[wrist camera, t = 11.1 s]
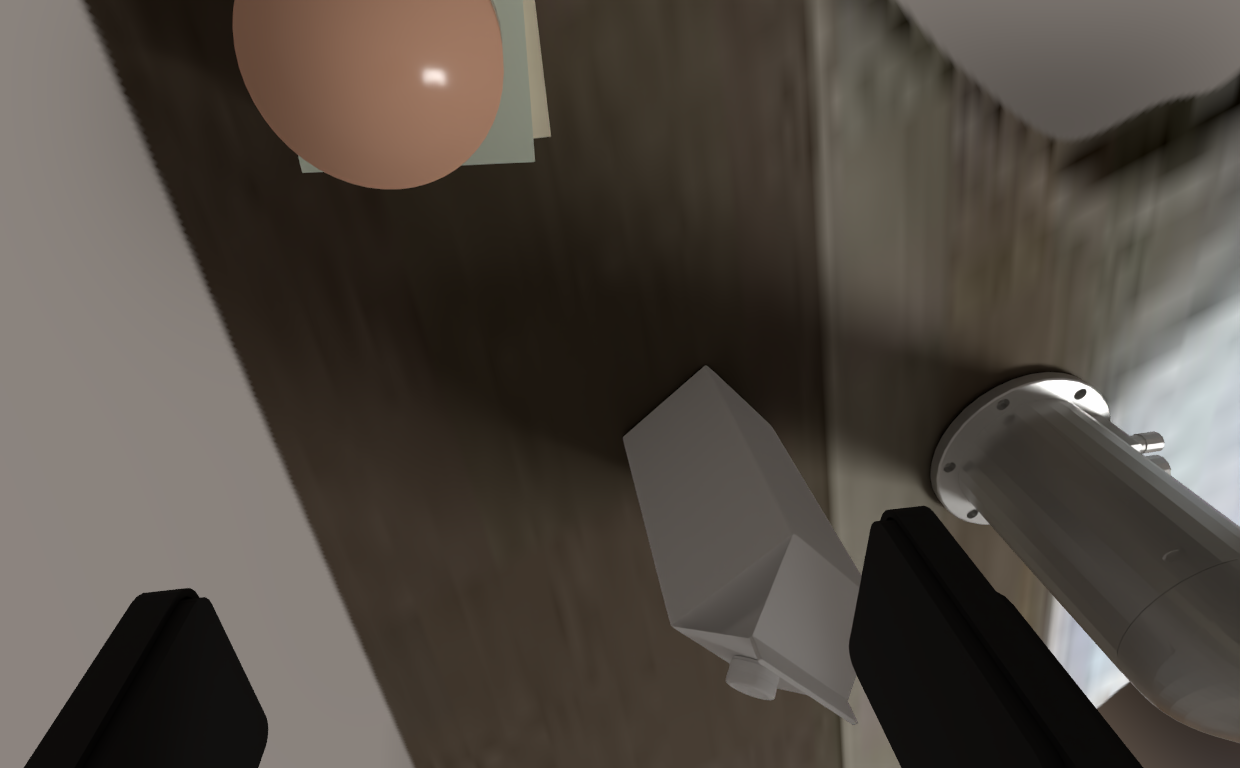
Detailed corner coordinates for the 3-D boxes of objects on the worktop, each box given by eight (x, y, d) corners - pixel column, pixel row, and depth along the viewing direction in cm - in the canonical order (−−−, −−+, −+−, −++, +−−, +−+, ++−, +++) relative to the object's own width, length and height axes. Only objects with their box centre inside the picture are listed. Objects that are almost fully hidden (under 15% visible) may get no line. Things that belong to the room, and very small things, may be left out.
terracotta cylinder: (490, -78, 21) (487, -99, 15) (511, 130, 24) (516, 181, 18) (283, -74, 20) (192, -94, 14) (333, 140, 23) (276, 197, 17)
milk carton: (704, 362, 41) (833, 608, 25) (772, 425, 44) (925, 680, 28) (620, 435, 43) (689, 708, 27) (691, 491, 46) (791, 766, 30)
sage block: (512, -97, 25) (514, -113, 20) (530, 135, 29) (535, 161, 24) (280, -96, 24) (231, -113, 19) (333, 143, 28) (302, 172, 23)
